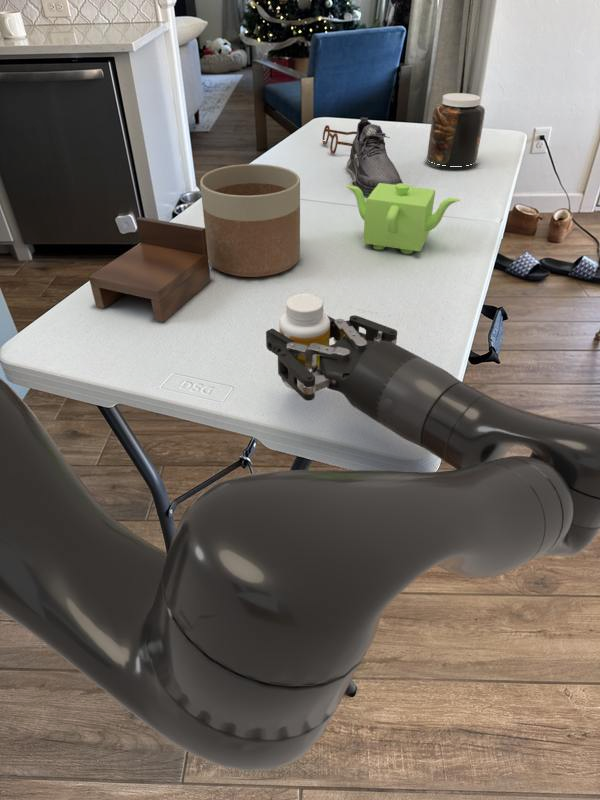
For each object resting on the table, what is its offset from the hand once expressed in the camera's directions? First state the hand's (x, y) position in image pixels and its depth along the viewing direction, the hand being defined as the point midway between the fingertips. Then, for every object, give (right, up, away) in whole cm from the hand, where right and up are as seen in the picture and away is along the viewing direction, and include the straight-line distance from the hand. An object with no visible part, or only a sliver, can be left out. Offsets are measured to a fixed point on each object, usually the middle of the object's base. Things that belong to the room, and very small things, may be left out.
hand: (289, 327), depth 65 cm
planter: (-7, +16, +35) cm, 39 cm away
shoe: (+18, +41, +67) cm, 81 cm away
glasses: (+15, +58, +88) cm, 107 cm away
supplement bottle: (+2, -6, +2) cm, 7 cm away
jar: (+39, +50, +78) cm, 100 cm away
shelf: (-22, +8, +25) cm, 34 cm away
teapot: (+19, +20, +40) cm, 49 cm away
